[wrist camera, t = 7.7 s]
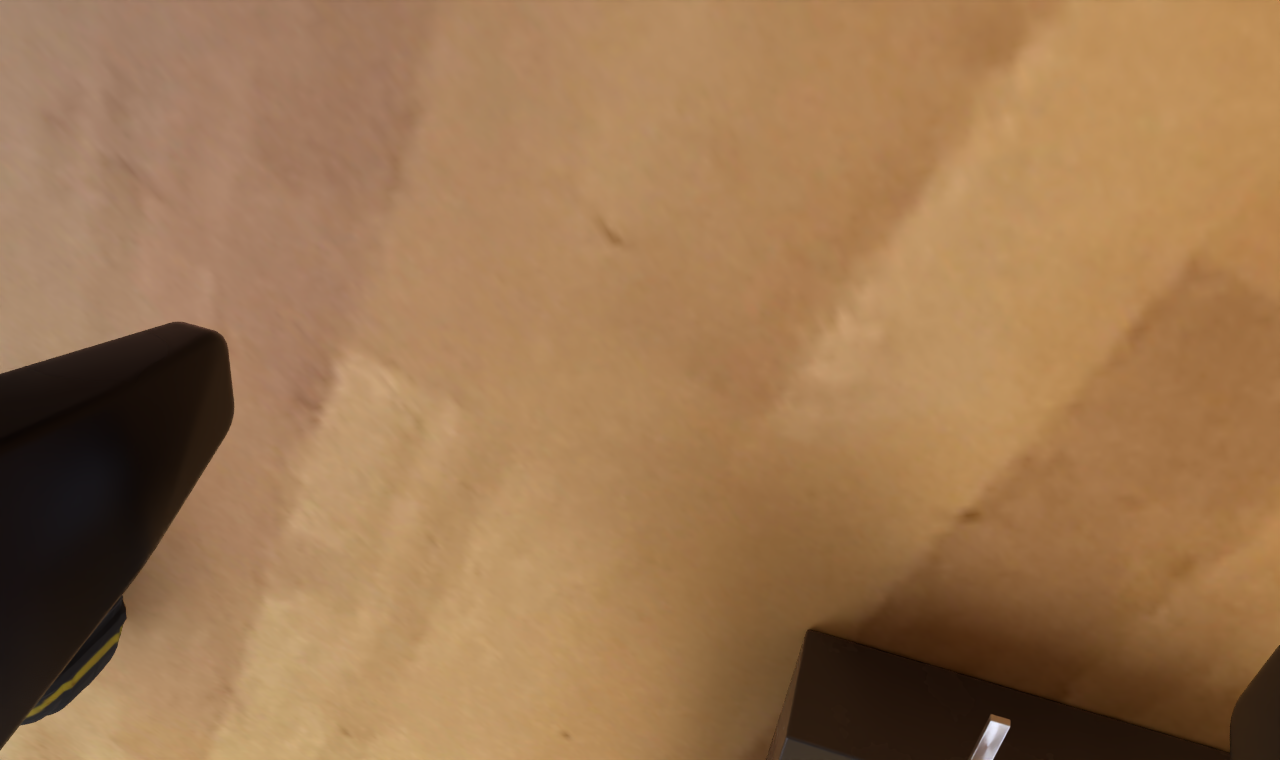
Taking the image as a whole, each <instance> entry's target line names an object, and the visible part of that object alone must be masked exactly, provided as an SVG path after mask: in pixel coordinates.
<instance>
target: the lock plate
mask: <svg viewBox="0 0 1280 760" xmlns="http://www.w3.org/2000/svg"><path fill="white" fill-rule="evenodd" d="M766 760H1231V756H1230V753H1228V752H1224V751H1221V750H1217V749H1214V748H1211V747H1207V746H1204V745H1200V744H1197V743H1194V742H1190V741H1187V740H1183V739H1180V738H1177V737H1173V736H1170V735H1166V734H1163V733H1160V732H1156V731H1153V730H1149V729H1146V728H1143V727H1139V726H1136V725H1132V724H1129V723H1126V722H1122V721H1119V720H1115V719H1112V718H1109V717H1105V716H1102V715H1098V714H1095V713H1092V712H1088V711H1085V710H1081V709H1078V708H1075V707H1071V706H1068V705H1064V704H1061V703H1058V702H1054V701H1051V700H1047V699H1044V698H1041V697H1037V696H1034V695H1030V694H1027V693H1024V692H1020V691H1017V690H1013V689H1010V688H1007V687H1003V686H1000V685H996V684H993V683H989V682H986V681H983V680H979V679H976V678H972V677H969V676H966V675H962V674H959V673H955V672H952V671H949V670H945V669H942V668H938V667H935V666H932V665H928V664H925V663H921V662H918V661H915V660H911V659H908V658H904V657H901V656H898V655H894V654H891V653H887V652H884V651H881V650H877V649H874V648H870V647H867V646H864V645H860V644H857V643H853V642H850V641H847V640H843V639H840V638H836V637H833V636H830V635H826V634H823V633H819V632H816V631H813V630H808V631H807V632H806V634H805V637H804V640H803V644H802V647H801V650H800V653H799V656H798V660H797V663H796V666H795V669H794V672H793V676H792V679H791V682H790V685H789V688H788V691H787V695H786V698H785V701H784V704H783V707H782V711H781V714H780V717H779V720H778V723H777V726H776V730H775V733H774V736H773V739H772V742H771V746H770V749H769V752H768V755H767V758H766Z"/></svg>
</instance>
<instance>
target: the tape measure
mask: <svg viewBox="0 0 1280 760" xmlns="http://www.w3.org/2000/svg"><path fill="white" fill-rule="evenodd" d="M122 598H123V596H121V597H120V598H119V600H118V601H117V602H116V603H115V605H114V606H113V607H112V608H111V610H110V611H109V612H108V614H107V615H106V616H105V617H104V619H103V620H102V621H101V622H100V624H99V625H98V626H97V628H96V629H95V630H94V631H93V633H92V634H91V635H90V637H89V638H88V639H87V640H86V642H85V643H84V644H83V645H82V647H81V648H80V649H79V651H78V652H77V653H76V654H75V656H74V657H73V658H72V659H71V661H70V662H69V663H68V665H67V666H66V667H65V668H64V670H63V671H62V672H61V674H60V675H59V676H58V677H57V679H56V680H55V681H54V682H53V684H52V685H51V686H50V688H49V689H48V690H47V691H46V693H45V694H44V695H43V696H42V698H41V699H40V700H39V702H38V703H37V704H36V705H35V707H34V708H33V709H32V711H31V712H30V713H29V714H28V716H27V717H26V718H25V719H24V721H23V722H22V723H21V725H25V724H29V723H33V722H36V721H38V720H40V719H42V718H44V717H45V716H47V715H51V714H54V713H56V712H58V711H60V710H61V709H63V708H64V707H65V706H66V705H68V704H69V703H70V702H71V701H72V700H73V699H74V698H75V697H76V696H77V695H78V694H79V693H80V692H81V691H82V690H83V689H84V688H86V687H87V686H88V685H89V684H90V683H91V682H92V681H93V680H94V679H95V677H96V676H97V675H98V674H99V673H100V672H101V671H102V669H103V668H104V667H105V666H106V665H107V663H108V662H109V661H110V660H111V658H112V656H113V655H114V653H115V651H116V648H117V645H118V641H119V637H120V635H121V631H122V627H123V624H124V622H125V620H126V607H125V605H124V603H123V600H122Z"/></svg>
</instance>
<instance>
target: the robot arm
mask: <svg viewBox="0 0 1280 760" xmlns="http://www.w3.org/2000/svg"><path fill="white" fill-rule="evenodd" d="M233 415H234V398H233V389H232V380H231V371H230V362H229V353H228V347H227V343H226V341H225V339H224V337H223V336H222V335H221V334H219V333H218V332H216V331H214V330H210V329H207V328H203V327H199V326H196V325H192V324H189V323H185V322H172V323H168V324H165V325H162V326H158V327H155V328H152V329H148V330H145V331H142V332H138V333H135V334H132V335H128V336H125V337H122V338H118V339H115V340H112V341H108V342H105V343H102V344H98V345H95V346H92V347H89V348H85V349H82V350H79V351H75V352H72V353H69V354H65V355H62V356H59V357H55V358H52V359H49V360H45V361H42V362H39V363H35V364H32V365H29V366H25V367H22V368H19V369H15V370H12V371H9V372H5V373H2V374H0V750H1V749H2V747H3V746H4V745H5V744H6V742H7V741H8V740H9V739H10V737H11V736H12V735H13V733H14V732H15V731H16V730H17V728H18V727H19V726H20V725H21V723H22V722H23V721H24V719H25V718H26V717H27V716H28V714H29V713H30V712H31V711H32V709H33V708H34V707H35V705H36V704H37V703H38V702H39V700H40V699H41V698H42V696H43V695H44V694H45V693H46V691H47V690H48V689H49V688H50V686H51V685H52V684H53V682H54V681H55V680H56V679H57V677H58V676H59V675H60V674H61V672H62V671H63V670H64V668H65V667H66V666H67V665H68V663H69V662H70V661H71V659H72V658H73V657H74V656H75V654H76V653H77V652H78V651H79V649H80V648H81V647H82V645H83V644H84V643H85V642H86V640H87V639H88V638H89V637H90V635H91V634H92V633H93V631H94V630H95V629H96V628H97V626H98V625H99V624H100V622H101V621H102V620H103V619H104V617H105V616H106V615H107V614H108V612H109V611H110V610H111V608H112V607H113V606H114V605H115V603H116V602H117V601H118V600H119V598H120V597H121V596H122V594H123V593H124V592H125V591H126V589H127V588H128V587H129V585H130V584H131V583H132V581H133V580H134V579H135V577H136V576H137V575H138V573H139V572H140V571H141V569H142V568H143V566H144V565H145V563H146V562H147V560H148V559H149V557H150V556H151V554H152V553H153V552H154V550H155V549H156V547H157V546H158V544H159V542H160V541H161V539H162V537H163V536H164V534H165V533H166V531H167V529H168V528H169V526H170V525H171V523H172V521H173V520H174V518H175V517H176V515H177V513H178V512H179V510H180V508H181V507H182V505H183V504H184V502H185V500H186V499H187V497H188V496H189V494H190V492H191V491H192V489H193V488H194V486H195V484H196V483H197V481H198V480H199V478H200V476H201V475H202V473H203V471H204V470H205V468H206V467H207V465H208V463H209V462H210V460H211V459H212V457H213V455H214V454H215V452H216V451H217V449H218V447H219V446H220V444H221V442H222V441H223V439H224V438H225V436H226V434H227V432H228V430H229V428H230V426H231V423H232V419H233ZM1230 756H1231V760H1280V645H1279V646H1278V647H1277V649H1276V650H1275V651H1274V653H1273V654H1272V655H1271V656H1270V658H1269V659H1268V660H1267V662H1266V663H1265V664H1264V666H1263V667H1262V668H1261V670H1260V671H1259V672H1258V674H1257V675H1256V676H1255V678H1254V679H1253V680H1252V681H1251V683H1250V684H1249V685H1248V687H1247V688H1246V689H1245V691H1244V692H1243V693H1242V695H1241V696H1240V698H1239V699H1238V701H1237V703H1236V705H1235V707H1234V710H1233V713H1232V717H1231V724H1230Z"/></svg>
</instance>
